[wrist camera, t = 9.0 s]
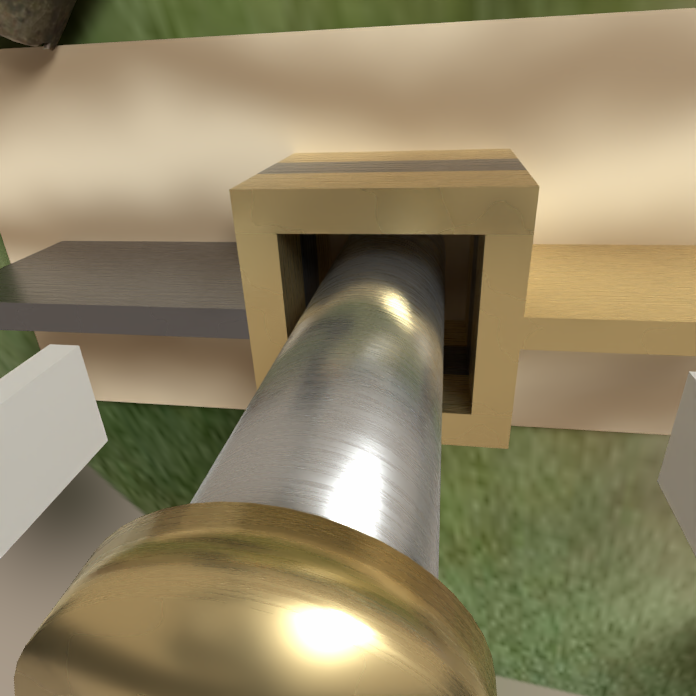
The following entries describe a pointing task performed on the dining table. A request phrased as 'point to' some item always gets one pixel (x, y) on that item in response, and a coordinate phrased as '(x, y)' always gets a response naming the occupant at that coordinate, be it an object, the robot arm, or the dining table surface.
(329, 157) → the hinge
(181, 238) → the mounting board
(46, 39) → the branch with fungus
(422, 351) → the hinge pin
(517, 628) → the dining table surface
